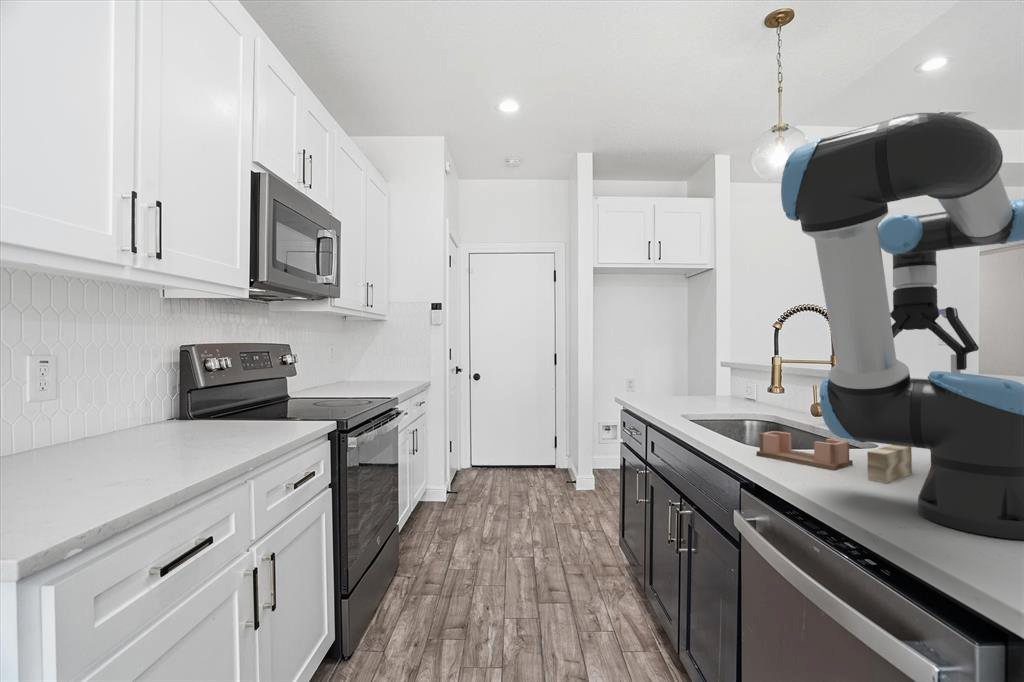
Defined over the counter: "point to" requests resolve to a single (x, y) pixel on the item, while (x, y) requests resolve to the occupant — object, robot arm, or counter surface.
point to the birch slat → (889, 463)
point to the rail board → (802, 459)
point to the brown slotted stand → (823, 452)
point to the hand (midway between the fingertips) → (915, 384)
